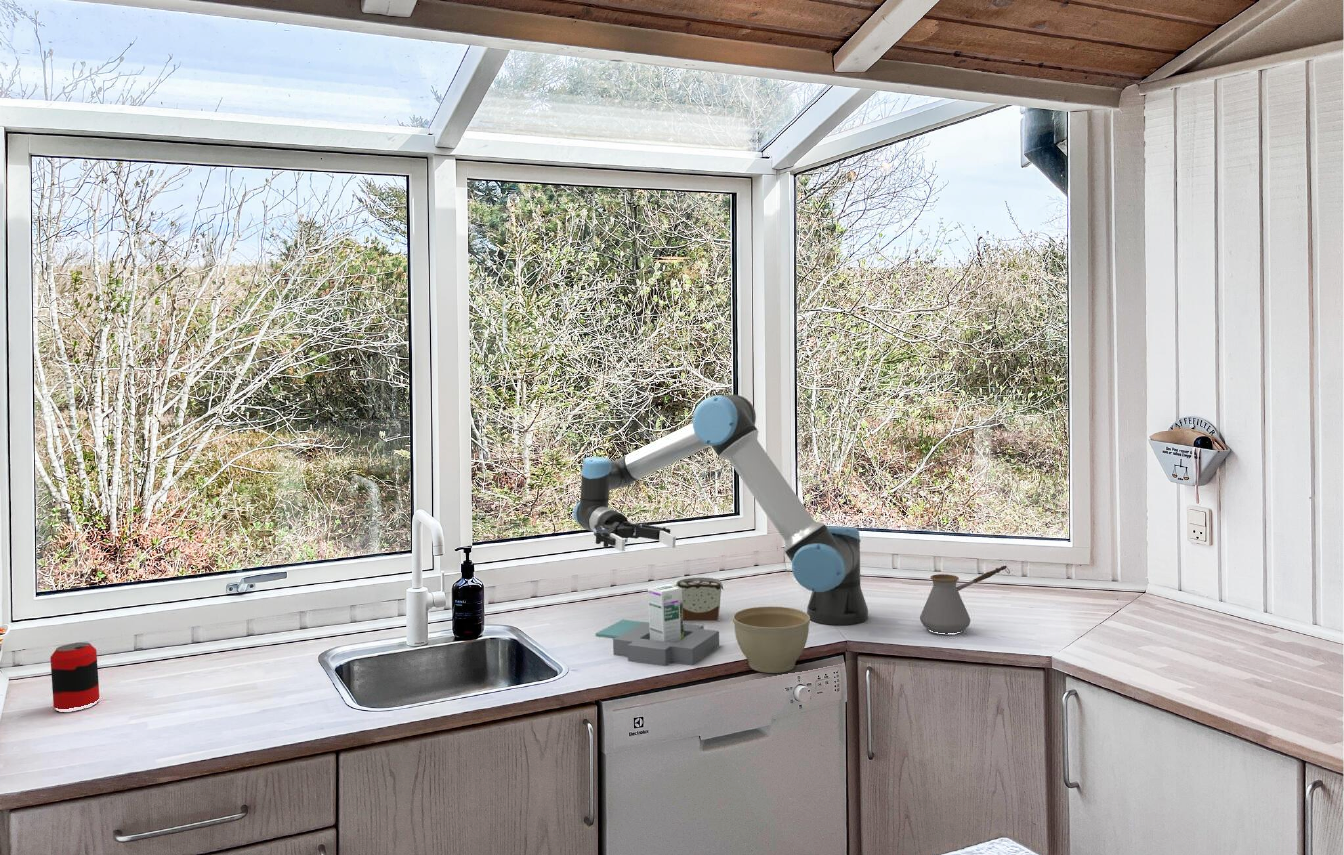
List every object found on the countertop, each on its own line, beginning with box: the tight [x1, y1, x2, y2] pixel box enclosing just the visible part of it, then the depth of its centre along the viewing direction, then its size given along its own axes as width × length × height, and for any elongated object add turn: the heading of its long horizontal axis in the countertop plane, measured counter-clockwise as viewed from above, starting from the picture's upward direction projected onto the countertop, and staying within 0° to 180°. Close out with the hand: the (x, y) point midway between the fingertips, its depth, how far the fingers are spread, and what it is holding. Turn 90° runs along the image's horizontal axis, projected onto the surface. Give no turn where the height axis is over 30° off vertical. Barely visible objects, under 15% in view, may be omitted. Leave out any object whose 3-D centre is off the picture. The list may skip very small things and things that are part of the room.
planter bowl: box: [732, 605, 811, 674], centre depth 188 cm, size 16×16×11 cm
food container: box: [675, 576, 725, 623], centre depth 227 cm, size 12×6×10 cm, turn 84°
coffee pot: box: [919, 565, 1011, 634], centre depth 210 cm, size 21×12×15 cm, turn 93°
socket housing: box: [612, 622, 720, 666], centre depth 201 cm, size 20×20×4 cm
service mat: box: [595, 619, 649, 639], centre depth 217 cm, size 13×13×1 cm
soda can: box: [49, 641, 100, 709], centre depth 176 cm, size 8×8×12 cm
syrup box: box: [647, 583, 684, 643], centre depth 201 cm, size 6×6×14 cm
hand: (649, 543), depth 210 cm, fingers open, 13 cm apart
